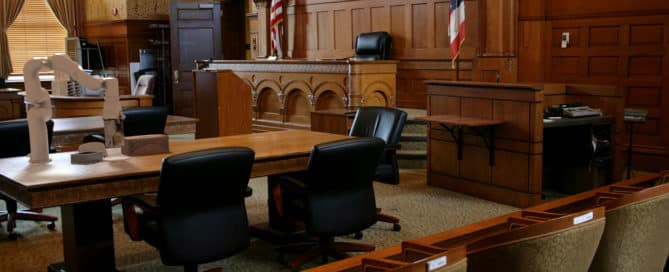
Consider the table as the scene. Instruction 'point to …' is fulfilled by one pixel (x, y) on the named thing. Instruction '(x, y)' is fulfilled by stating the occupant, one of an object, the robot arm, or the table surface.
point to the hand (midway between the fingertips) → (114, 129)
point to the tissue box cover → (145, 144)
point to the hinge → (93, 147)
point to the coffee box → (113, 134)
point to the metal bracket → (86, 157)
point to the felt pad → (115, 159)
